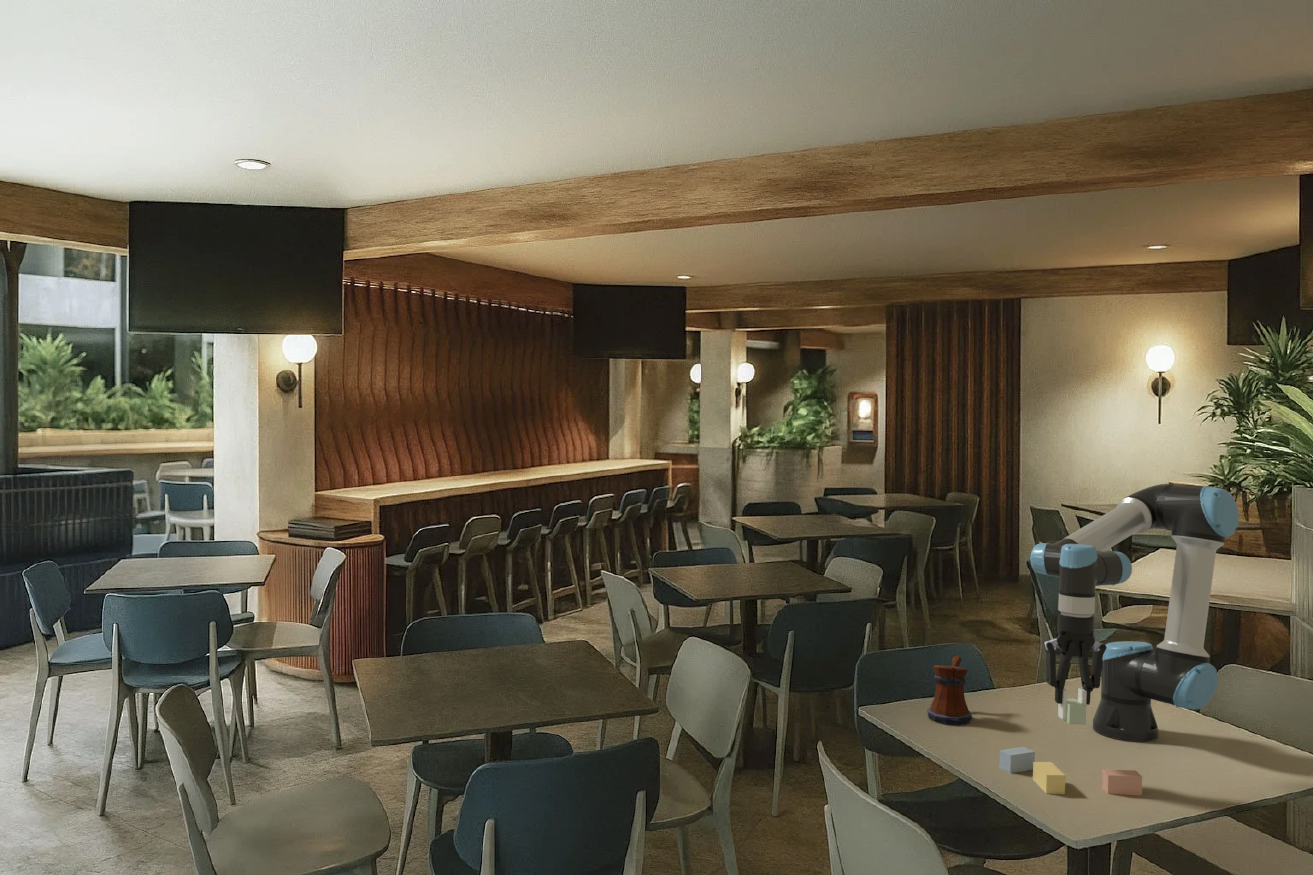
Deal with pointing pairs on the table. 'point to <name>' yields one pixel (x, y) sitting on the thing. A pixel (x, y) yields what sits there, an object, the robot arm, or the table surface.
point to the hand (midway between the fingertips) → (1071, 717)
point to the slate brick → (1016, 759)
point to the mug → (950, 695)
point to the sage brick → (1075, 712)
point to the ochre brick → (1049, 777)
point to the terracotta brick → (1122, 782)
